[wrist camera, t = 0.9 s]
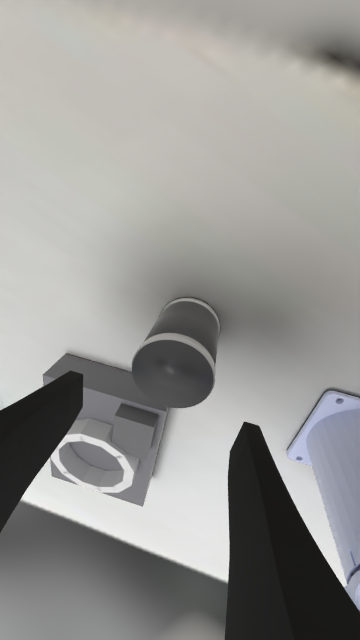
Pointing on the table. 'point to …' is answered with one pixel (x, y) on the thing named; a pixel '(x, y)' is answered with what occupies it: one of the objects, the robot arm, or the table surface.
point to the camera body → (109, 432)
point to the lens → (179, 355)
